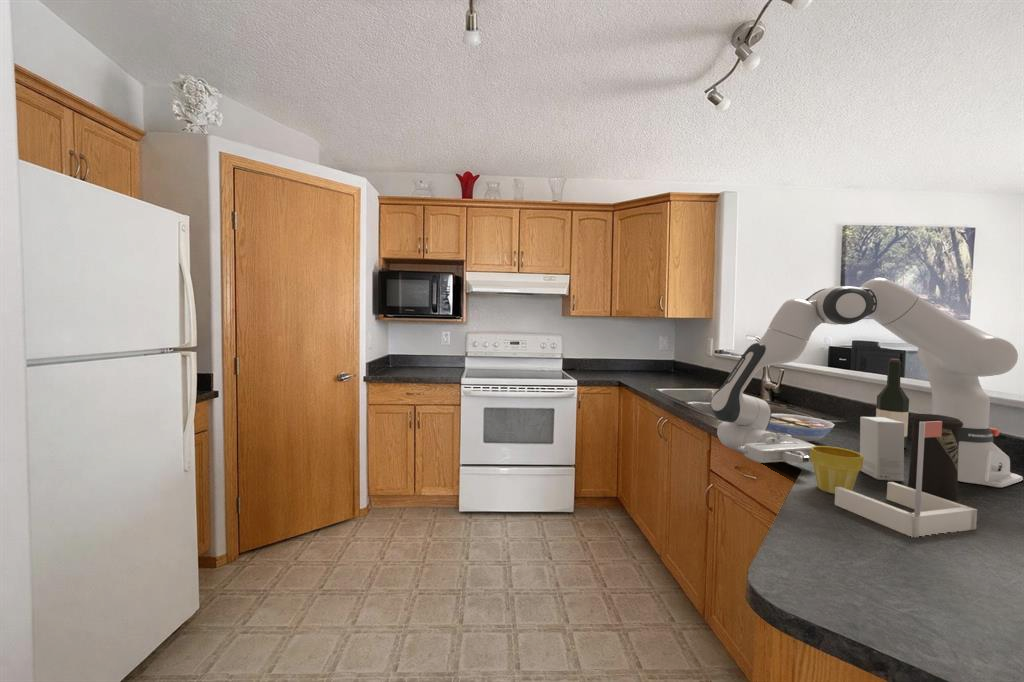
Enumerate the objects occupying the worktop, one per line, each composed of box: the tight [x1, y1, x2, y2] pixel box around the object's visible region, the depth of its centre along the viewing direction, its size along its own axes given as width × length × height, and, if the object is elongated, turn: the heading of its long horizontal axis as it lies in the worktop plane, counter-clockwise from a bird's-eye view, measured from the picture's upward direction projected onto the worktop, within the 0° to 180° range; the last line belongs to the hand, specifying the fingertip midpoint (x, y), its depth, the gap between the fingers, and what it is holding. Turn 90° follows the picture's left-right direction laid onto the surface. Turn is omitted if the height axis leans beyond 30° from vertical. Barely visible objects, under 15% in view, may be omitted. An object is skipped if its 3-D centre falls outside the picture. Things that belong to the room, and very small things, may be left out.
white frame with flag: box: [834, 421, 978, 538], centre depth 92 cm, size 17×16×22 cm
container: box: [907, 413, 963, 503], centre depth 102 cm, size 9×9×20 cm
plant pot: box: [810, 445, 863, 495], centre depth 106 cm, size 10×10×10 cm
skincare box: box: [859, 416, 905, 482], centre depth 118 cm, size 8×7×16 cm
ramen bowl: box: [766, 413, 836, 443], centre depth 154 cm, size 25×23×8 cm
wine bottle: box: [875, 358, 910, 448], centre depth 149 cm, size 8×8×30 cm
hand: (805, 460), depth 114 cm, fingers closed
